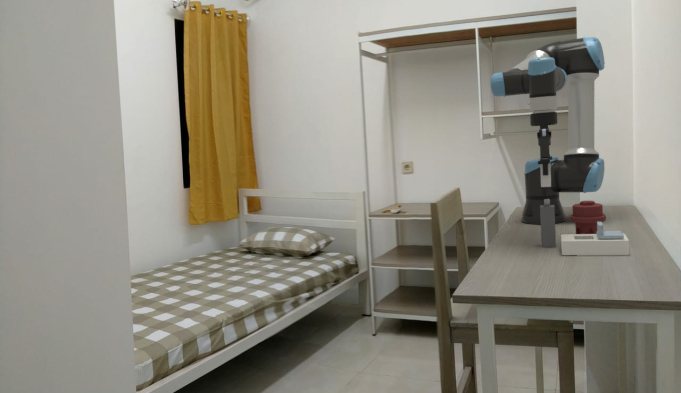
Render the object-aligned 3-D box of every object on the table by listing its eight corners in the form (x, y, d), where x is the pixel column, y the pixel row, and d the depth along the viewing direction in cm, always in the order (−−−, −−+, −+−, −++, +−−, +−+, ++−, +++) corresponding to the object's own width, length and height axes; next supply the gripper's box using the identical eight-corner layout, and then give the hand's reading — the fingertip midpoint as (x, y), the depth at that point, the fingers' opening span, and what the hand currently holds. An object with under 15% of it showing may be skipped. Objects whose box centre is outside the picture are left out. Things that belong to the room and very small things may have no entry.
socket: (561, 248, 180) (560, 234, 180) (625, 247, 175) (624, 233, 174) (561, 255, 171) (561, 241, 171) (629, 255, 165) (628, 240, 165)
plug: (541, 244, 187) (539, 198, 186) (555, 244, 186) (554, 198, 184) (541, 247, 184) (539, 200, 182) (555, 247, 182) (554, 200, 181)
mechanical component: (602, 238, 189) (610, 244, 180) (568, 239, 191) (573, 246, 182) (601, 198, 188) (608, 202, 178) (566, 200, 190) (572, 204, 180)
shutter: (596, 233, 175) (596, 221, 175) (621, 233, 173) (620, 220, 173) (598, 238, 169) (597, 225, 168) (623, 238, 167) (623, 225, 166)
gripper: (531, 112, 193) (534, 180, 196) (528, 113, 170) (531, 189, 172) (556, 110, 191) (559, 179, 193) (557, 110, 167) (560, 188, 170)
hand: (546, 184), depth 183 cm, fingers open, 13 cm apart
